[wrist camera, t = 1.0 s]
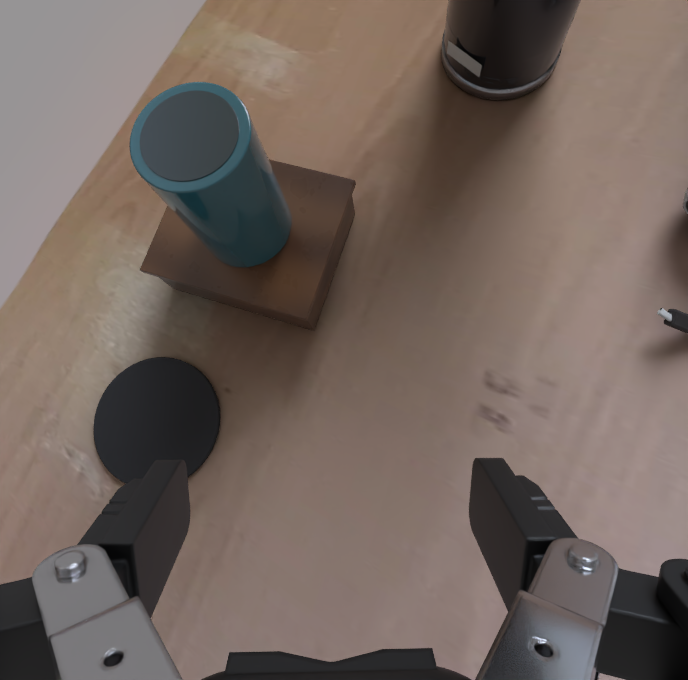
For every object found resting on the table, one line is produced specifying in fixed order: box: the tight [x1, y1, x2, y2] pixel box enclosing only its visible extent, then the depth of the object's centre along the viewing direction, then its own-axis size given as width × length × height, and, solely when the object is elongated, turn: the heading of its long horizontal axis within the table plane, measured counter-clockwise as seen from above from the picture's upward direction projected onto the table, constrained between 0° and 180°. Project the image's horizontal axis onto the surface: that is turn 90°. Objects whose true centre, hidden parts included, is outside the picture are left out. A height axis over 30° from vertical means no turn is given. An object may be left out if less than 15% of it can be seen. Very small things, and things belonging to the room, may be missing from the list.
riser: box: [140, 159, 356, 330], centre depth 37 cm, size 11×13×4 cm
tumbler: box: [130, 82, 292, 267], centre depth 30 cm, size 6×6×10 cm
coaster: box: [94, 357, 220, 484], centre depth 36 cm, size 10×10×1 cm
